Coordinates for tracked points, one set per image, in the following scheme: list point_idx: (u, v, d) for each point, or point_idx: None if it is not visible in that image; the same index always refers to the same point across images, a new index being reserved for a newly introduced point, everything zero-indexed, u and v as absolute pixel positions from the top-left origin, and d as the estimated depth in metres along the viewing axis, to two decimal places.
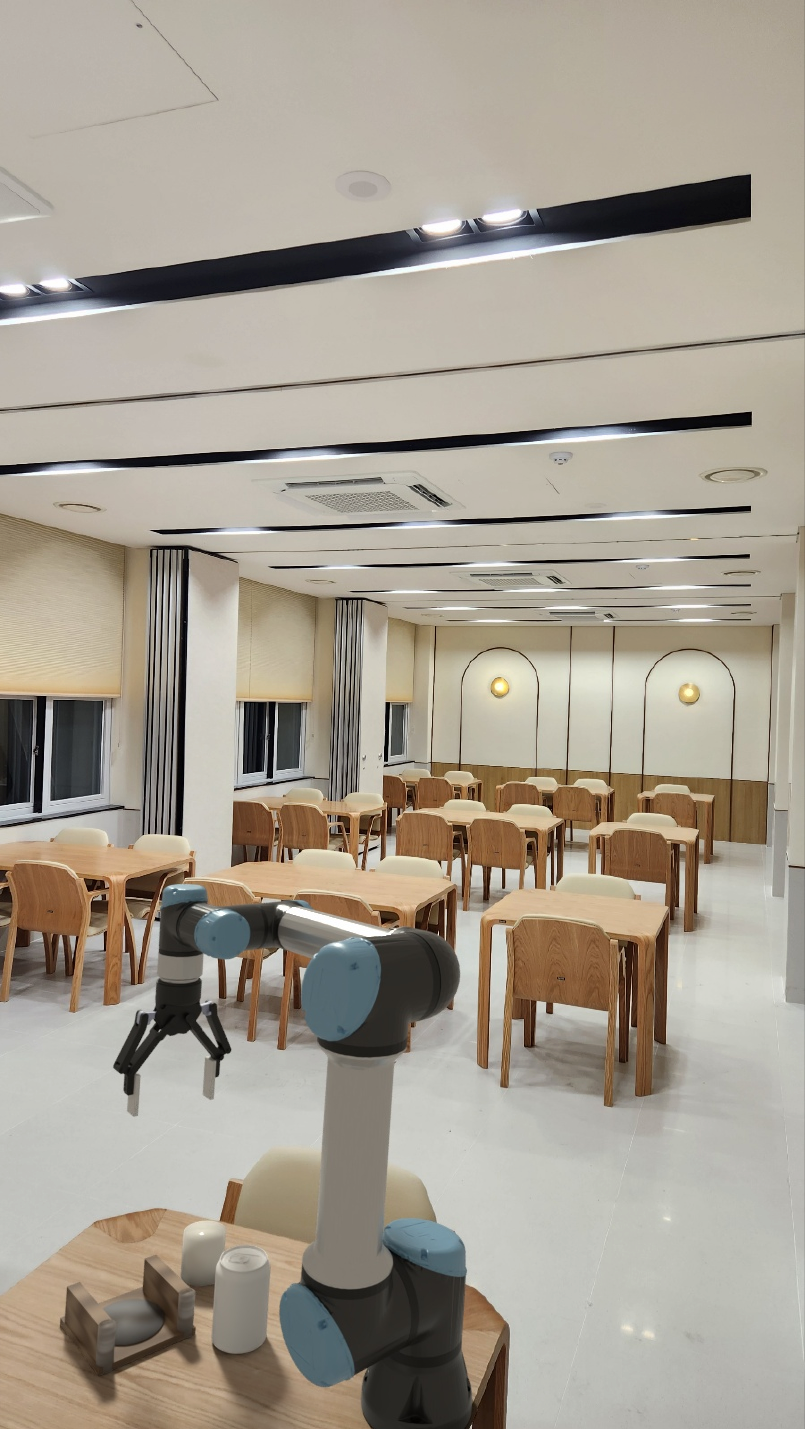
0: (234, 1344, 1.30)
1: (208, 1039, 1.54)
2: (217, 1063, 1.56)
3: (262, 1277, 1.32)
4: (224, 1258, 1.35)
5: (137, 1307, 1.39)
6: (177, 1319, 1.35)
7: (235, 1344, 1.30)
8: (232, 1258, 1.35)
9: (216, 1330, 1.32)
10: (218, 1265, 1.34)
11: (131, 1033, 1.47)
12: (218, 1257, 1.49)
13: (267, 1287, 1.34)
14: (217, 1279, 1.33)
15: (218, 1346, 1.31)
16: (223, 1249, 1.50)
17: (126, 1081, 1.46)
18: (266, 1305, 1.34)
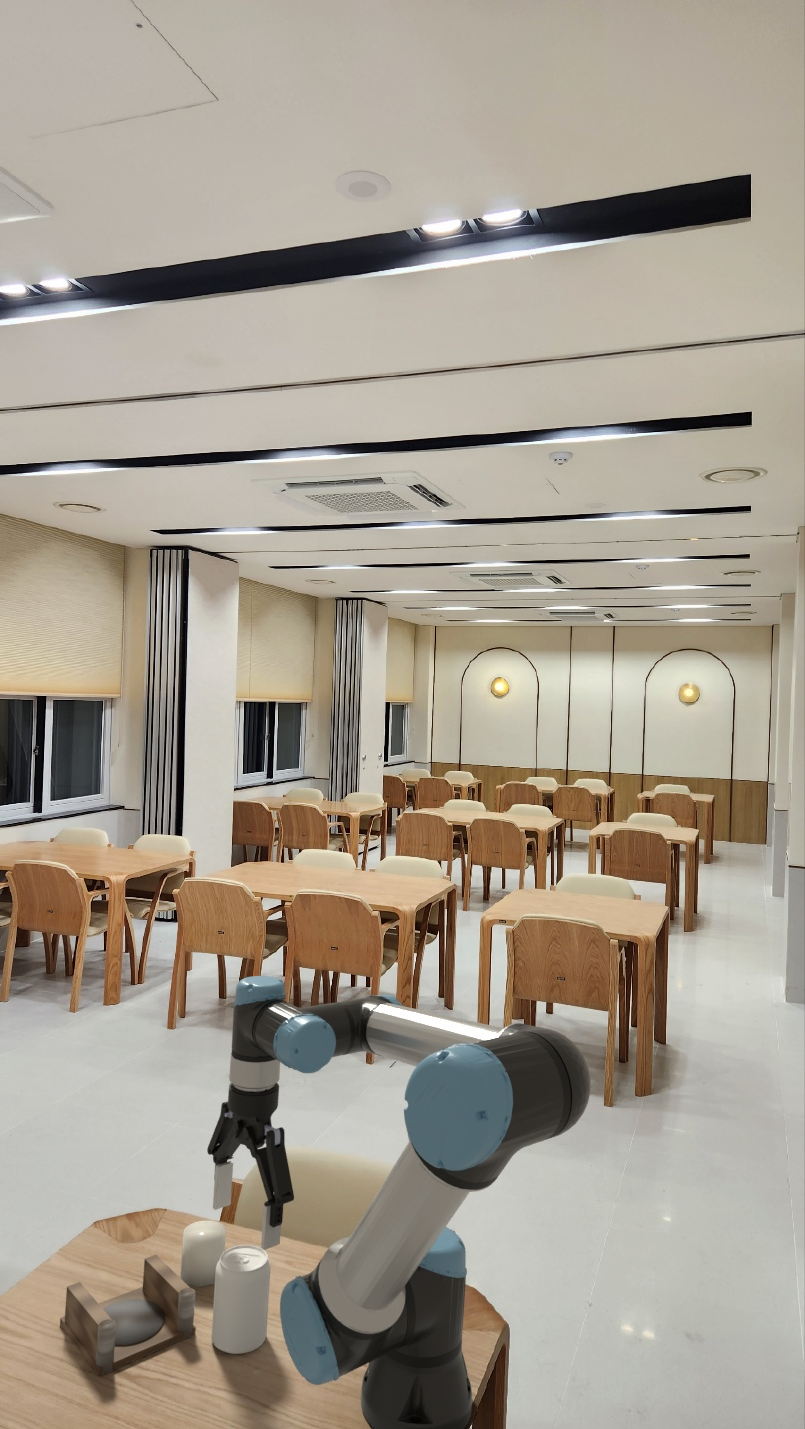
0: (234, 1344, 1.30)
1: (263, 1171, 1.31)
2: (272, 1209, 1.29)
3: (262, 1277, 1.32)
4: (224, 1258, 1.35)
5: (137, 1307, 1.39)
6: (177, 1319, 1.35)
7: (235, 1344, 1.30)
8: (232, 1258, 1.35)
9: (216, 1330, 1.32)
10: (218, 1265, 1.34)
11: None
12: (218, 1257, 1.49)
13: (267, 1287, 1.34)
14: (217, 1279, 1.33)
15: (218, 1346, 1.31)
16: (223, 1249, 1.50)
17: None
18: (266, 1305, 1.34)
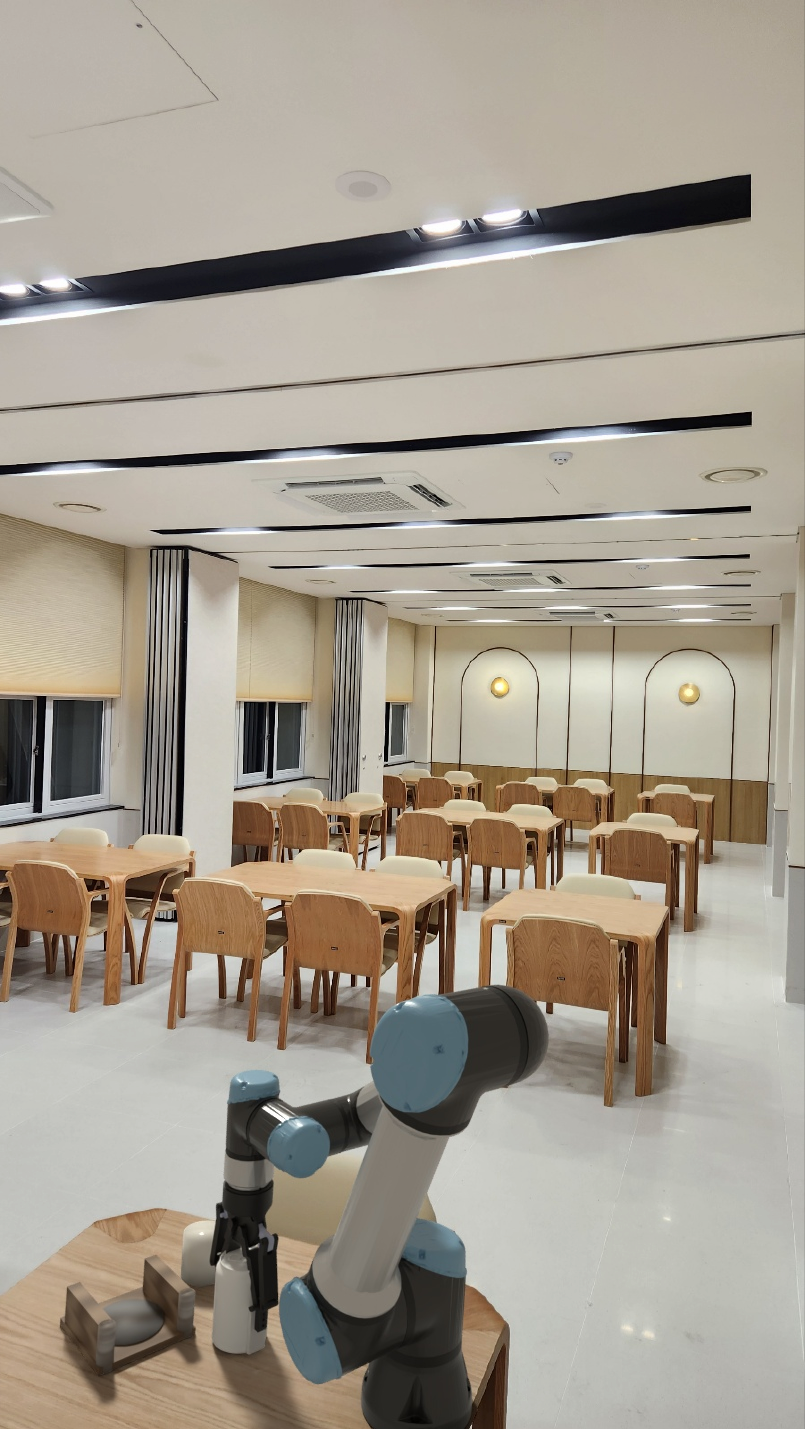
0: (234, 1344, 1.30)
1: (251, 1275, 1.31)
2: (257, 1314, 1.30)
3: None
4: (224, 1258, 1.35)
5: (137, 1307, 1.39)
6: (177, 1319, 1.35)
7: (235, 1344, 1.31)
8: (232, 1258, 1.35)
9: (216, 1330, 1.32)
10: (218, 1265, 1.34)
11: None
12: None
13: None
14: (217, 1279, 1.33)
15: (218, 1346, 1.31)
16: None
17: None
18: None
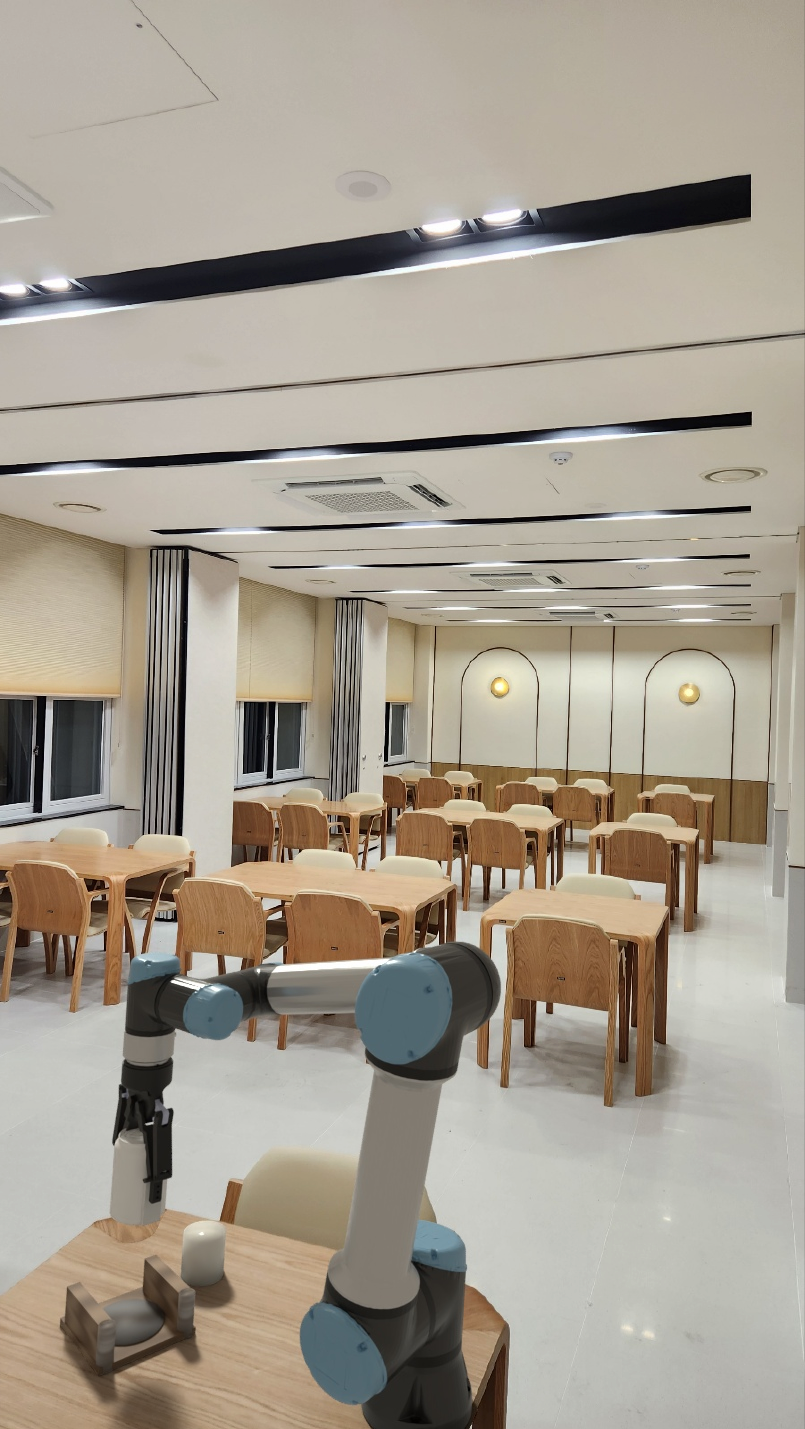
0: (129, 1215, 1.32)
1: (147, 1148, 1.33)
2: (151, 1186, 1.32)
3: None
4: (124, 1134, 1.37)
5: (137, 1307, 1.39)
6: (177, 1319, 1.35)
7: (130, 1215, 1.32)
8: (132, 1134, 1.37)
9: (113, 1203, 1.34)
10: (117, 1140, 1.36)
11: None
12: (218, 1257, 1.49)
13: None
14: (115, 1153, 1.34)
15: (114, 1217, 1.33)
16: (223, 1249, 1.50)
17: None
18: (164, 1180, 1.35)
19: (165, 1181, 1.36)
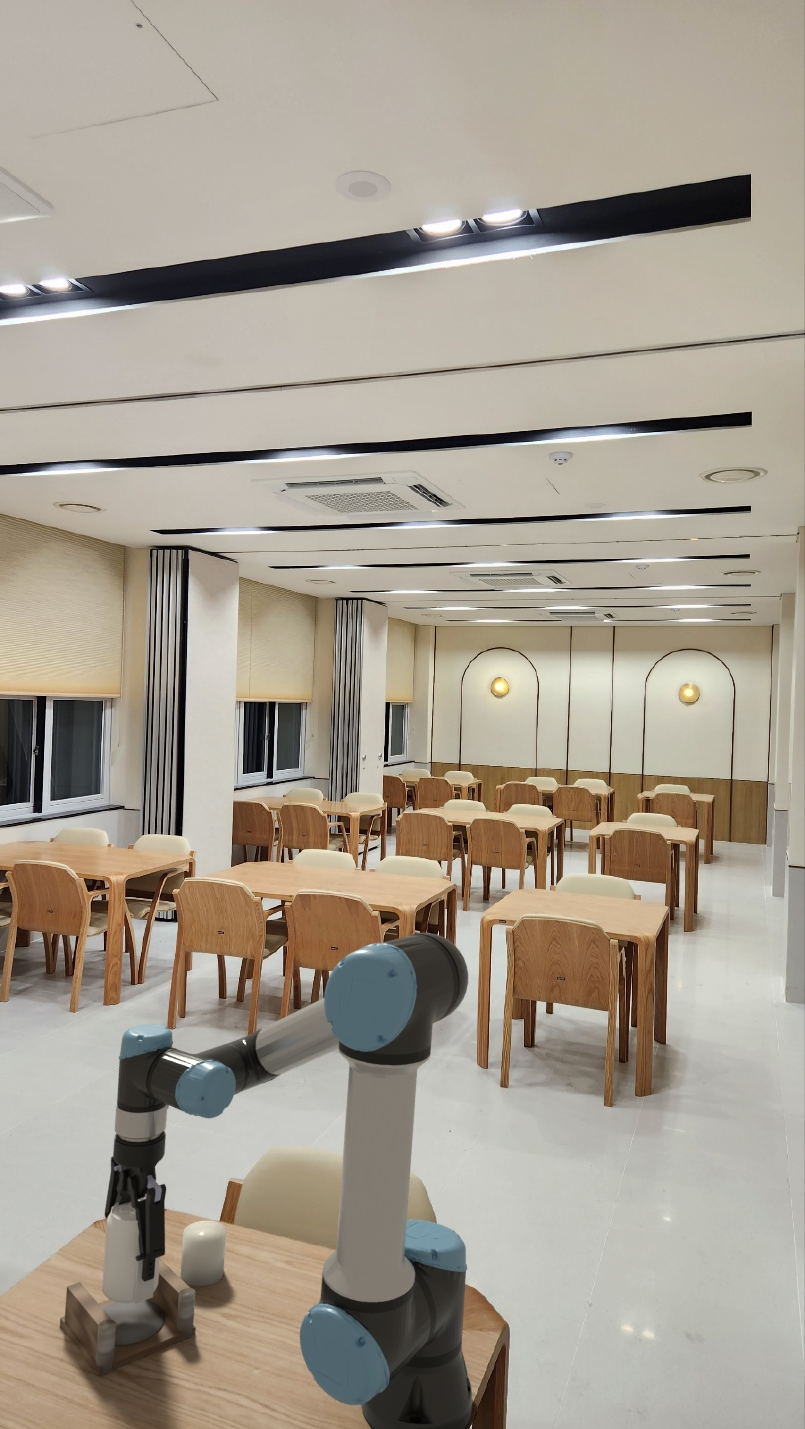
0: (122, 1293, 1.32)
1: (139, 1225, 1.32)
2: (144, 1264, 1.31)
3: None
4: (116, 1209, 1.36)
5: (137, 1307, 1.39)
6: (177, 1319, 1.35)
7: (123, 1293, 1.32)
8: (124, 1209, 1.36)
9: (105, 1280, 1.33)
10: (109, 1216, 1.35)
11: None
12: (218, 1257, 1.49)
13: None
14: (107, 1229, 1.34)
15: (107, 1295, 1.32)
16: (223, 1249, 1.50)
17: None
18: None
19: None
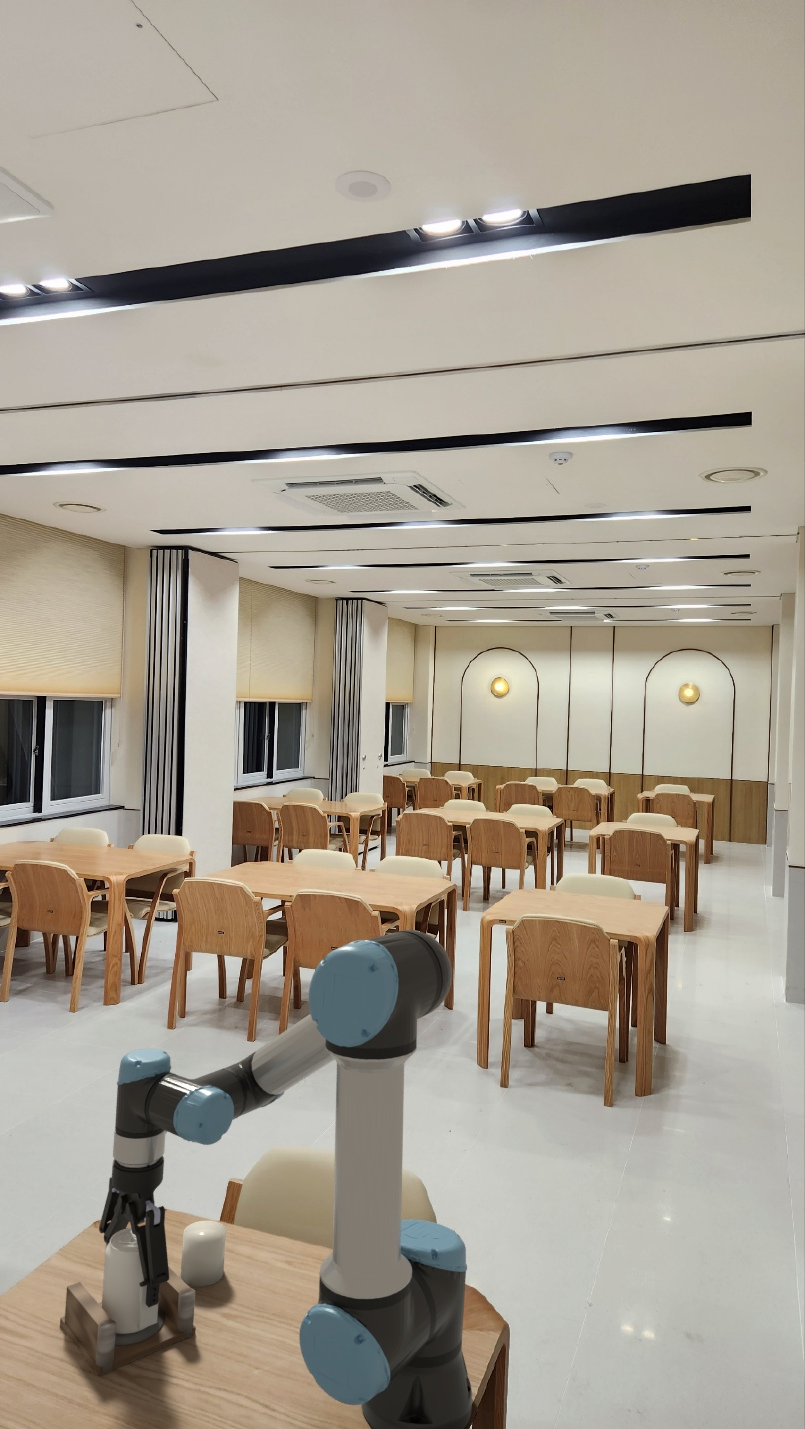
0: (120, 1324, 1.31)
1: (141, 1250, 1.31)
2: (148, 1289, 1.30)
3: None
4: (115, 1239, 1.36)
5: None
6: (177, 1319, 1.35)
7: (121, 1324, 1.31)
8: (123, 1239, 1.36)
9: None
10: (108, 1246, 1.35)
11: None
12: (218, 1257, 1.49)
13: None
14: (106, 1260, 1.34)
15: None
16: (223, 1249, 1.50)
17: None
18: None
19: None
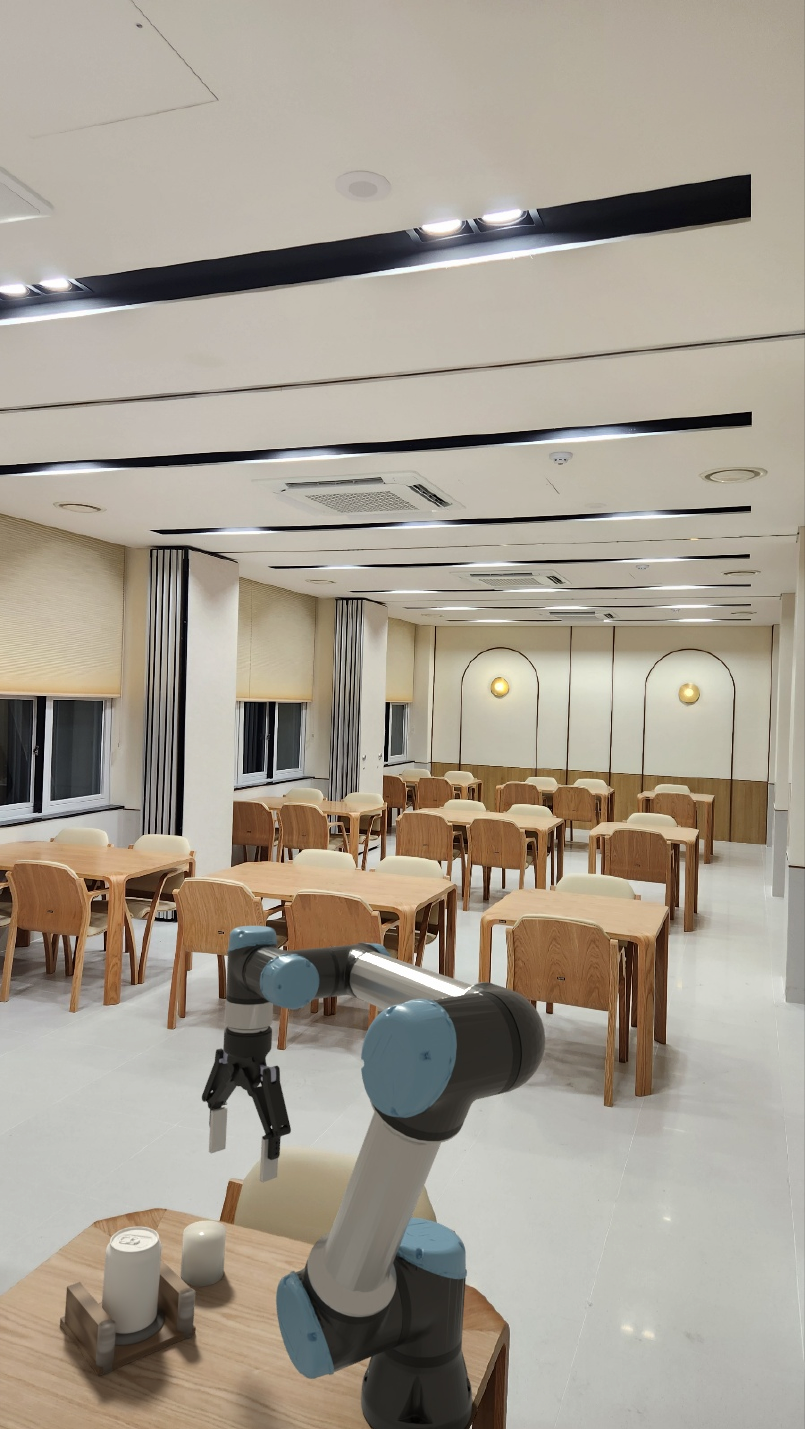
0: (120, 1324, 1.31)
1: (260, 1108, 1.37)
2: (270, 1143, 1.36)
3: (150, 1258, 1.33)
4: (115, 1239, 1.36)
5: None
6: (177, 1319, 1.35)
7: (121, 1324, 1.31)
8: (123, 1239, 1.36)
9: (104, 1310, 1.33)
10: (108, 1246, 1.35)
11: None
12: (218, 1257, 1.49)
13: (156, 1268, 1.35)
14: (106, 1259, 1.34)
15: None
16: (223, 1249, 1.50)
17: None
18: (155, 1286, 1.35)
19: (157, 1287, 1.35)
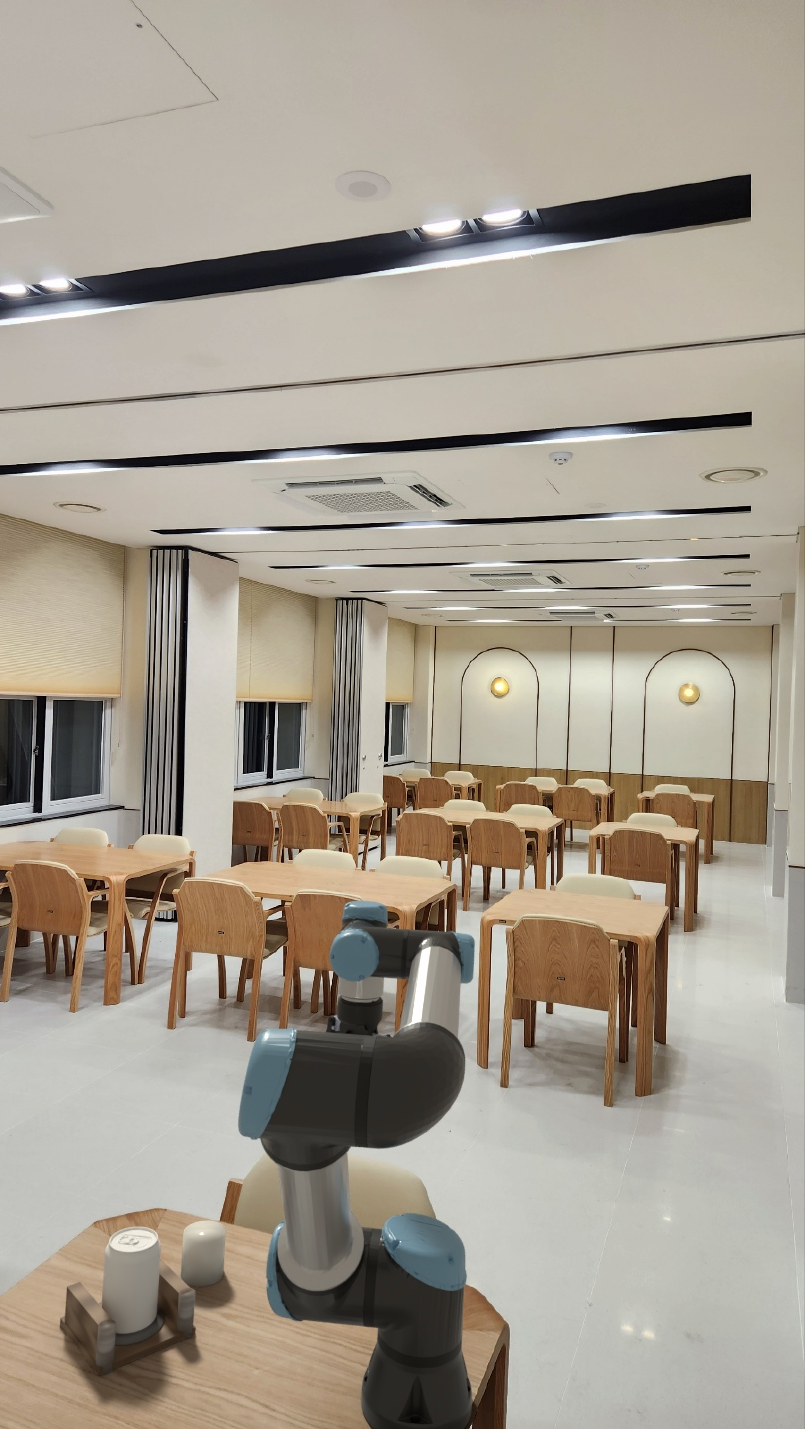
0: (120, 1324, 1.31)
1: None
2: None
3: (149, 1258, 1.33)
4: (114, 1239, 1.36)
5: None
6: (177, 1319, 1.35)
7: (121, 1324, 1.31)
8: (122, 1239, 1.36)
9: None
10: (107, 1246, 1.35)
11: None
12: (218, 1257, 1.49)
13: (156, 1268, 1.35)
14: (105, 1260, 1.34)
15: None
16: (223, 1249, 1.50)
17: None
18: (155, 1286, 1.35)
19: (156, 1287, 1.35)
